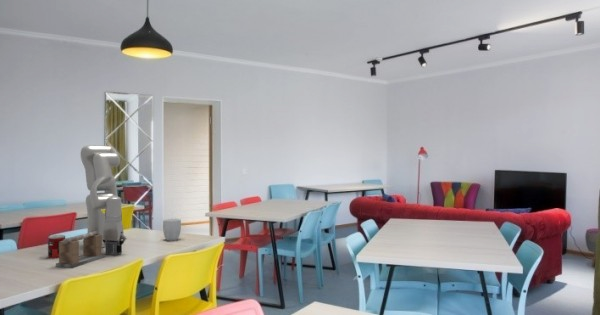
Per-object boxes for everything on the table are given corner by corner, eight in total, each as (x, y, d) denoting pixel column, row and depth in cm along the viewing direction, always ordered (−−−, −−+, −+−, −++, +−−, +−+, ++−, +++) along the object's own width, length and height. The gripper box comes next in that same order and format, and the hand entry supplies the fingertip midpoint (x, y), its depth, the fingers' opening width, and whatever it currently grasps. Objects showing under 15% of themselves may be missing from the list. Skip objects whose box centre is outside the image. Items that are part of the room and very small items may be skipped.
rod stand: (55, 266, 204) (55, 238, 204) (88, 255, 226) (88, 230, 225) (72, 268, 202) (72, 239, 202) (104, 257, 223) (104, 231, 223)
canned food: (49, 255, 225) (49, 235, 225) (66, 254, 228) (66, 234, 228) (46, 259, 218) (47, 238, 218) (64, 257, 221) (64, 236, 221)
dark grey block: (105, 254, 228) (105, 241, 228) (111, 252, 233) (111, 239, 233) (115, 255, 227) (115, 242, 227) (121, 253, 231) (121, 240, 231)
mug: (165, 237, 276) (165, 217, 276) (182, 236, 278) (182, 217, 278) (161, 241, 262) (161, 221, 262) (179, 241, 263) (179, 220, 263)
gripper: (95, 219, 228) (95, 252, 228) (122, 221, 224) (122, 254, 224) (104, 217, 235) (104, 249, 236) (131, 219, 231) (131, 251, 231)
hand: (113, 251), depth 230 cm, fingers closed on dark grey block, 6 cm apart
